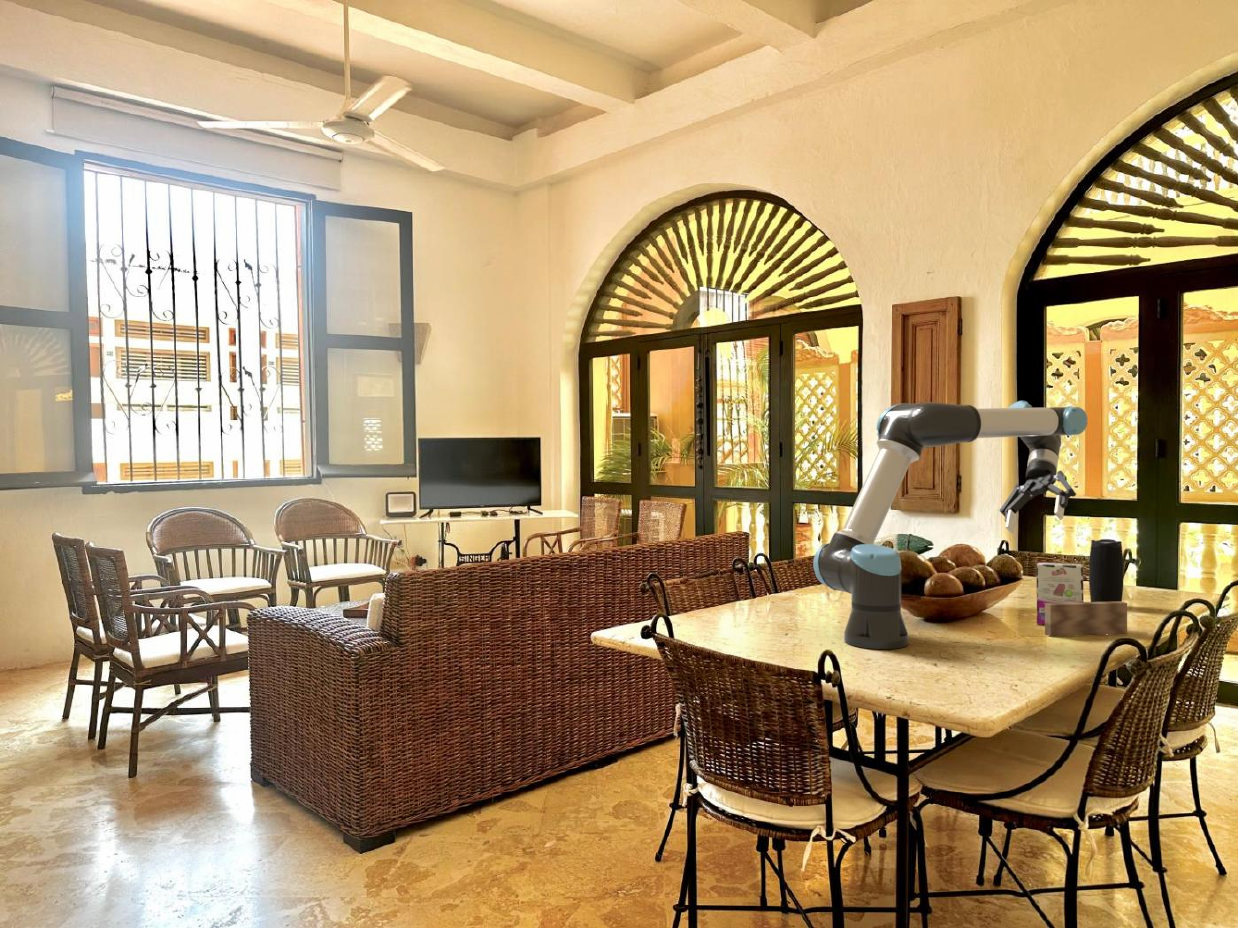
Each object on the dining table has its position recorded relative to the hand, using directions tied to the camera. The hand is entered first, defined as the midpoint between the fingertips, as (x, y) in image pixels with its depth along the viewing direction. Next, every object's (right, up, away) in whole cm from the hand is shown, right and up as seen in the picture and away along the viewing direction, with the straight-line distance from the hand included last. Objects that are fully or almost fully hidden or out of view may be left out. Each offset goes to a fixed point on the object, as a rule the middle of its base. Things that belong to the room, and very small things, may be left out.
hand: (1033, 523), depth 227 cm
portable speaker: (+34, -26, +26) cm, 50 cm away
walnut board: (+9, -27, -9) cm, 30 cm away
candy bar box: (+8, -27, +3) cm, 29 cm away
